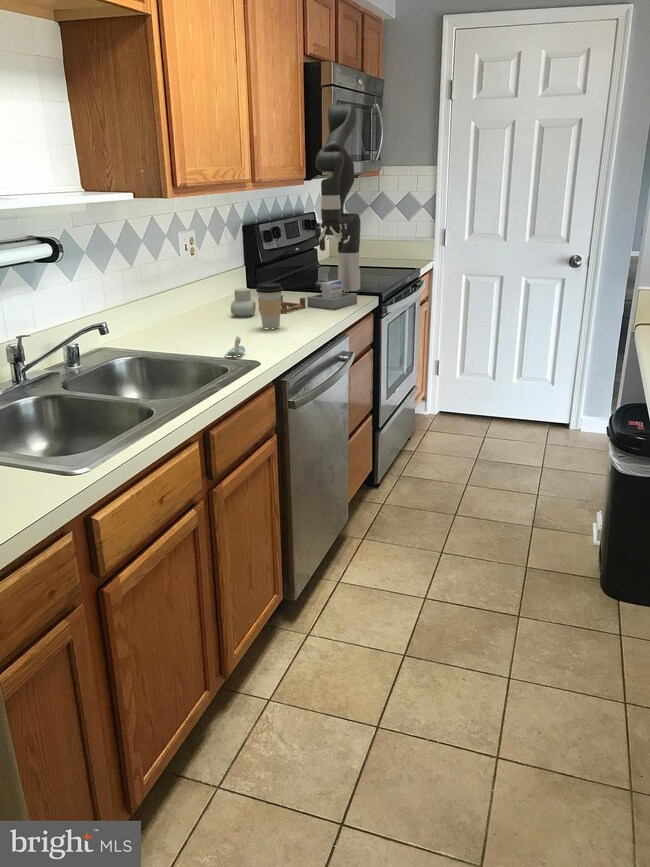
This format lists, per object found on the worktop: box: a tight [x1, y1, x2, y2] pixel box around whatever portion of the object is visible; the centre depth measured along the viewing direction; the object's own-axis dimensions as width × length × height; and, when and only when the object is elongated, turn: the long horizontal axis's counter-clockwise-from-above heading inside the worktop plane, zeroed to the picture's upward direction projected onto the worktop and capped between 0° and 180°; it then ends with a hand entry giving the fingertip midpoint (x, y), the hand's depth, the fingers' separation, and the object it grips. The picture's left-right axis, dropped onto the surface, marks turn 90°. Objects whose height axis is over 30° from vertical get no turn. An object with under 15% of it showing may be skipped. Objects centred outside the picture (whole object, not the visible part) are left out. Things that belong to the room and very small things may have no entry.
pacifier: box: [224, 335, 246, 357], centre depth 214 cm, size 7×6×6 cm
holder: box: [258, 294, 306, 314], centre depth 281 cm, size 13×13×4 cm
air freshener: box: [230, 287, 257, 318], centre depth 270 cm, size 11×8×10 cm
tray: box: [306, 292, 358, 311], centre depth 286 cm, size 16×13×4 cm
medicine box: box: [321, 279, 342, 299], centre depth 285 cm, size 8×4×9 cm, turn 144°
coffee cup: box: [255, 282, 284, 330], centre depth 248 cm, size 9×9×15 cm
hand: (331, 251), depth 279 cm, fingers open, 8 cm apart
